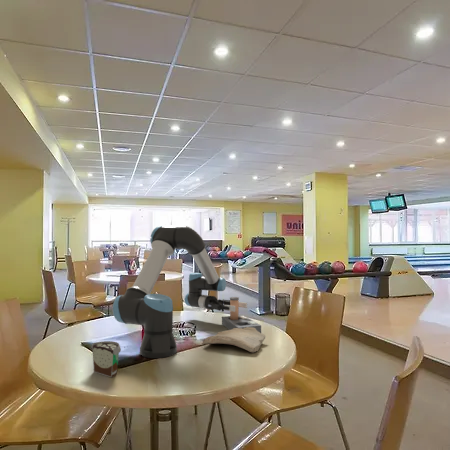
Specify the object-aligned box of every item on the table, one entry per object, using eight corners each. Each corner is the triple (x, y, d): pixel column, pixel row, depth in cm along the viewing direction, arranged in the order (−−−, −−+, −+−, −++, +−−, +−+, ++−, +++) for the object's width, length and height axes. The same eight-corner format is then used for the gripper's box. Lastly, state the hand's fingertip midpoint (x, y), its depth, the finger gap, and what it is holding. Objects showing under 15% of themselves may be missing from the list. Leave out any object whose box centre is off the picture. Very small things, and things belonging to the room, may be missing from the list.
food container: (128, 372, 129) (128, 344, 129) (114, 378, 124) (114, 348, 124) (105, 365, 136) (105, 338, 136) (91, 371, 130) (91, 343, 131)
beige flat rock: (219, 338, 174) (200, 346, 156) (220, 322, 175) (201, 328, 157) (268, 346, 164) (253, 356, 146) (269, 329, 165) (255, 337, 147)
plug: (240, 326, 191) (240, 298, 191) (231, 327, 189) (231, 298, 190) (236, 324, 195) (236, 296, 196) (228, 325, 194) (228, 297, 194)
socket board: (261, 333, 178) (261, 324, 178) (238, 336, 174) (238, 327, 174) (242, 322, 200) (242, 314, 201) (221, 324, 196) (221, 316, 196)
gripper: (220, 305, 212) (252, 310, 199) (194, 312, 194) (228, 318, 181) (220, 292, 213) (252, 296, 199) (194, 298, 194) (228, 303, 181)
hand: (241, 307), depth 190 cm, fingers open, 10 cm apart
